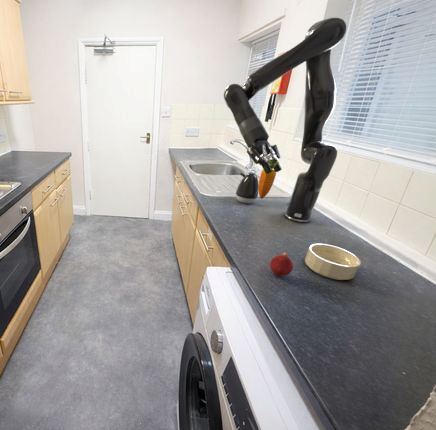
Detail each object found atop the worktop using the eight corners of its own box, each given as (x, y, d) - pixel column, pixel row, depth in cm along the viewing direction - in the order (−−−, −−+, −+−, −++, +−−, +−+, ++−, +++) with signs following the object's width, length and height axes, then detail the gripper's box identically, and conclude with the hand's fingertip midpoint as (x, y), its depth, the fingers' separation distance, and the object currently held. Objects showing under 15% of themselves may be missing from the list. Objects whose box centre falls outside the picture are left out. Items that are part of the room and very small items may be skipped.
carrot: (270, 198, 100) (281, 159, 94) (266, 202, 97) (278, 162, 91) (256, 195, 103) (266, 157, 97) (252, 198, 100) (262, 159, 94)
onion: (291, 283, 78) (300, 260, 74) (270, 280, 79) (278, 257, 75) (284, 271, 83) (292, 249, 79) (264, 268, 84) (271, 247, 80)
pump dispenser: (236, 196, 142) (242, 169, 136) (257, 201, 137) (265, 172, 130) (231, 202, 135) (238, 173, 128) (253, 207, 129) (261, 177, 123)
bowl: (297, 255, 91) (302, 241, 89) (339, 260, 89) (346, 246, 87) (314, 277, 80) (320, 262, 78) (362, 285, 78) (370, 269, 75)
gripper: (247, 126, 92) (270, 168, 88) (274, 124, 98) (296, 164, 94) (232, 139, 99) (252, 179, 94) (257, 137, 105) (277, 174, 100)
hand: (274, 171), depth 94 cm, fingers closed on carrot, 4 cm apart
